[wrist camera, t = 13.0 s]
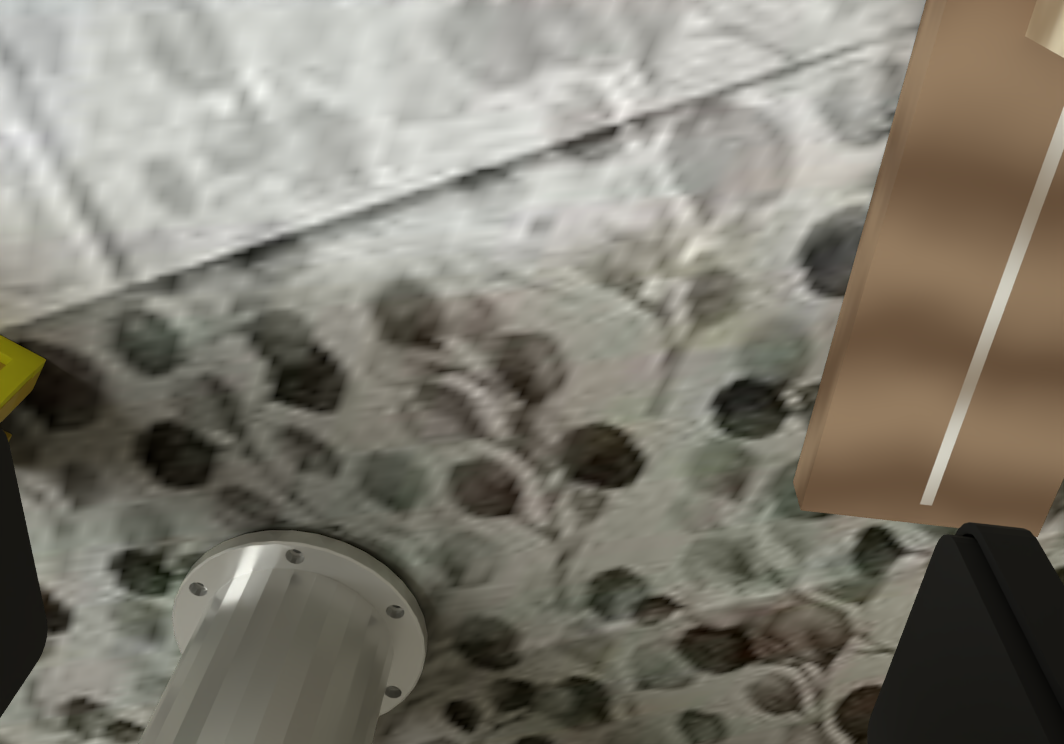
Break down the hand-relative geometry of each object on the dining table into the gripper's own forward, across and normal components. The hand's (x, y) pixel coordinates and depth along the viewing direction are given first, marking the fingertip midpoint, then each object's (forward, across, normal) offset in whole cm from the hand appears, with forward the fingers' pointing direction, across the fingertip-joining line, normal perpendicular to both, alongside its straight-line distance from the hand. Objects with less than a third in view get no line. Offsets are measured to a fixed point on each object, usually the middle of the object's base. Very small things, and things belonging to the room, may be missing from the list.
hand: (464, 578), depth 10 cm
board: (+28, -17, +4) cm, 33 cm away
